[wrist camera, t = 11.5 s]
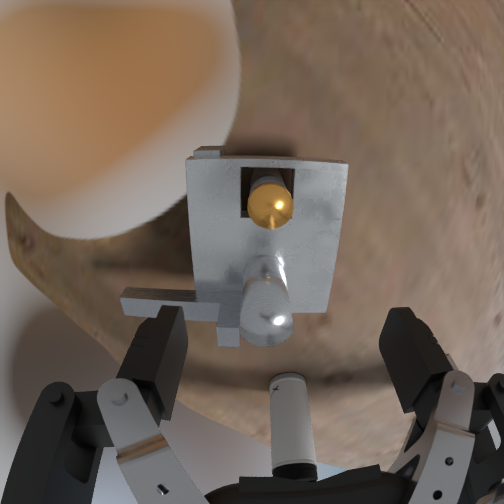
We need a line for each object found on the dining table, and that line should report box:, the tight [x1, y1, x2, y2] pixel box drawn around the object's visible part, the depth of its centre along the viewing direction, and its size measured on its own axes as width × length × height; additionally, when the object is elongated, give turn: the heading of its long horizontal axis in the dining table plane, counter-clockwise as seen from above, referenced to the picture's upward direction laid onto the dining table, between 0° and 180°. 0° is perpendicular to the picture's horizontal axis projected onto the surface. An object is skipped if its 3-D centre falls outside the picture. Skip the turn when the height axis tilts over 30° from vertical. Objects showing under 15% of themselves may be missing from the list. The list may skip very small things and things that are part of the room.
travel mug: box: [269, 373, 318, 482], centre depth 36 cm, size 6×7×20 cm
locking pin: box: [247, 167, 294, 229], centre depth 25 cm, size 3×3×10 cm
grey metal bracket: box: [120, 146, 348, 347], centre depth 26 cm, size 22×16×14 cm
